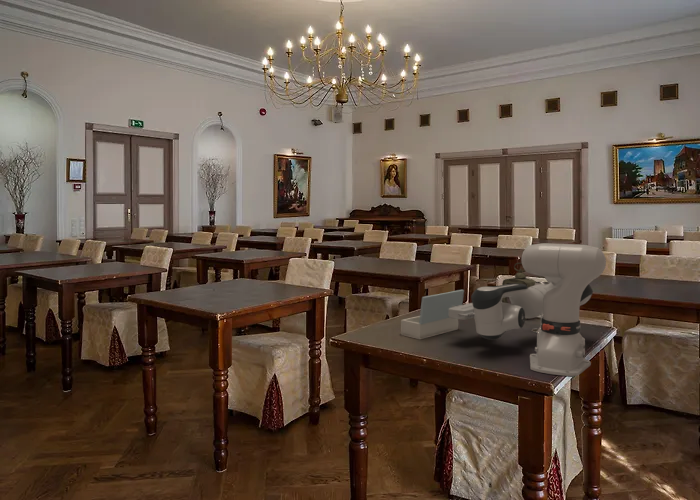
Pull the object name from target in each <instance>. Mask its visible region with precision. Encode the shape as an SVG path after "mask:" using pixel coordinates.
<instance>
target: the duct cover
mask: <svg viewBox="0 0 700 500" xmlns="http://www.w3.org/2000/svg"><path fill="white" fill-rule="evenodd" d="M464 294H465V290H464V289H457V290H454V291H448V292H443V293H442V292H441V293H439V294H431V295H426V296H422V297H421V304H420V313H419V316H420V320H419V324H425V323H429V322H433V321H437V320H441V319H446V318H450V317H449V308H452V306H454V305H463V301H464Z"/></svg>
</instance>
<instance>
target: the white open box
mask: <svg viewBox="0 0 700 500" xmlns="http://www.w3.org/2000/svg"><path fill="white" fill-rule="evenodd" d="M419 320H420V315H418V316H414V317H412V316H411V317H409V318H404V319H400V335H401V336H405V337H409V338H413V339H417V340H423V339H427V338H430V337H434V336H437V335H441V334H445V333H450V332H452V331H453V332H454V331H456V330H459V319H454V318H446V319H441V320H437V321H433V322H429V323H425V324H419Z"/></svg>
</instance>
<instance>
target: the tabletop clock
mask: <svg viewBox="0 0 700 500" xmlns="http://www.w3.org/2000/svg"><path fill="white" fill-rule="evenodd" d="M517 265H522V262H516V263H514V266H513V269H514V270H515V271H516V272H517V273H515V275H514V277H511V278H505V279H503V281H502V283H501V285H506V284H515V283H517V284H524V285H526V286H527V287H528V288H529V287H531V286H534V285H535V282H537V281H536V280H535V279H532V278H528V277H527V276H526V273H525V272H526V271H525V269H522V268H519V269H517V268H516V266H517ZM502 303H509V304H511V301H510V299H509V297H504V298H502ZM526 320H529V318H525V321H526Z"/></svg>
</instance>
